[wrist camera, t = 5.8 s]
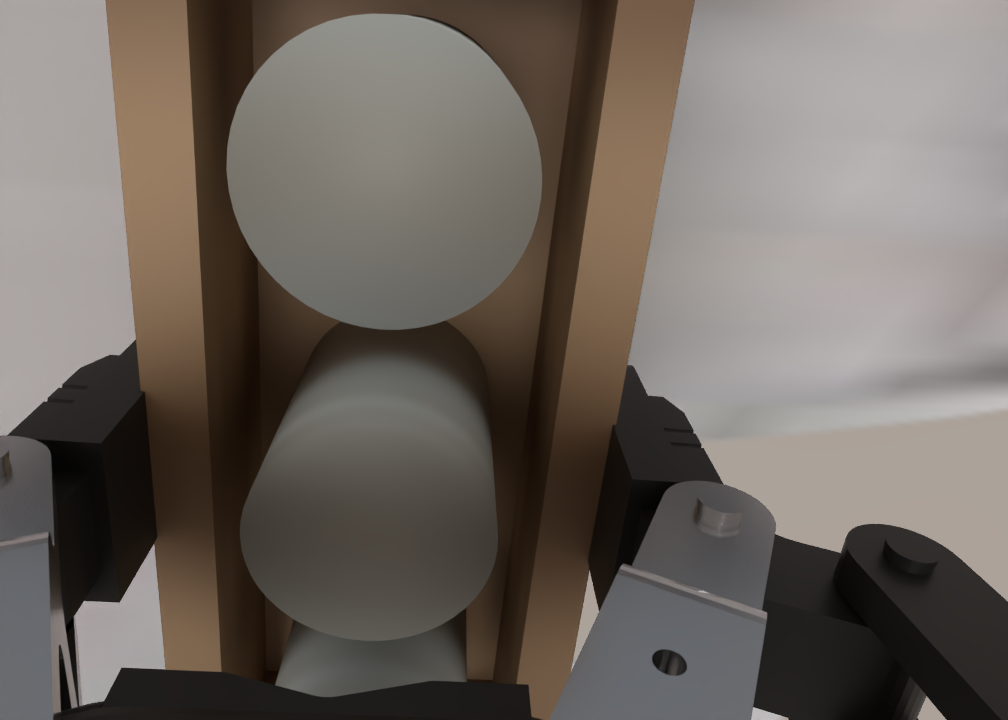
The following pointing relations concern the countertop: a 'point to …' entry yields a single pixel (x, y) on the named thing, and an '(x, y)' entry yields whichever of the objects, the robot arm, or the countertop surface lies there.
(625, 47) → the tray
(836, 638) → the robot arm
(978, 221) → the countertop surface
